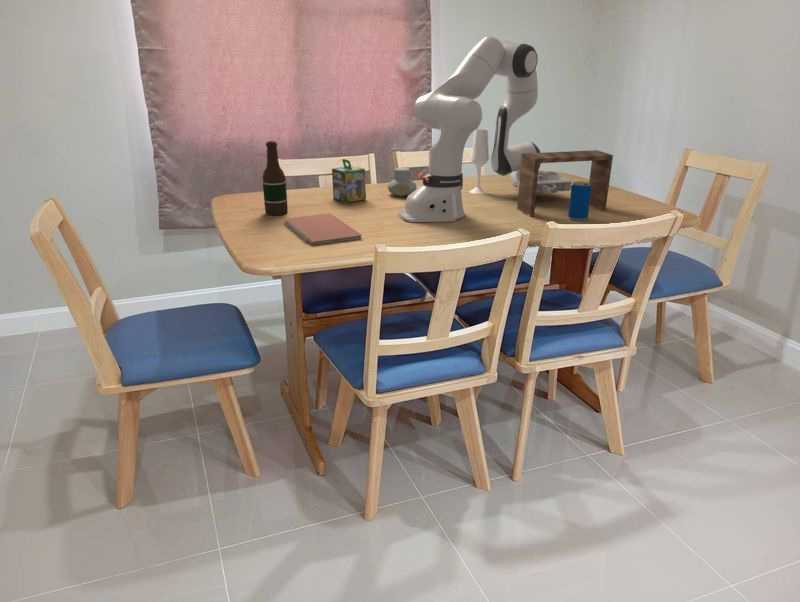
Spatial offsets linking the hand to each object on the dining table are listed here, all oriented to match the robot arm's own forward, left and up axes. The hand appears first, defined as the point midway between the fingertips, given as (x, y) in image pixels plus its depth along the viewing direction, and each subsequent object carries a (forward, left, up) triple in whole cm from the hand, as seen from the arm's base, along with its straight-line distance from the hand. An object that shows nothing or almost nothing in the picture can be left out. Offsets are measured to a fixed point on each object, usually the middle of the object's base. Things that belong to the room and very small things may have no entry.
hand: (553, 190), depth 224 cm
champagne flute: (-18, +26, -6) cm, 33 cm away
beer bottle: (-97, +14, -6) cm, 98 cm away
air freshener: (-48, +30, -6) cm, 57 cm away
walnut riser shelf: (0, -6, -6) cm, 9 cm away
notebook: (-86, -9, -6) cm, 86 cm away
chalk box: (-69, +28, -6) cm, 75 cm away
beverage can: (0, -18, -6) cm, 18 cm away
